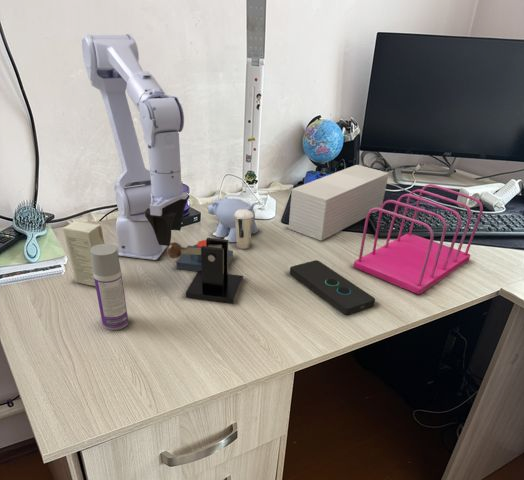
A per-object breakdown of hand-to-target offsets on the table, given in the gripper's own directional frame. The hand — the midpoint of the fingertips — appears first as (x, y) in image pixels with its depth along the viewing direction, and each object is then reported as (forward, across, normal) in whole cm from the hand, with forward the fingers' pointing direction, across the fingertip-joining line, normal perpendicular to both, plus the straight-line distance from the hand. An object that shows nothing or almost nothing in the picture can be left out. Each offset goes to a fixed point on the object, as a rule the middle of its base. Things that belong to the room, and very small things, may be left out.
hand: (170, 236), depth 99 cm
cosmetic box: (+10, -4, +16) cm, 20 cm away
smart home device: (+10, +4, -34) cm, 36 cm away
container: (+10, -19, +5) cm, 22 cm away
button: (+7, +9, -5) cm, 12 cm away
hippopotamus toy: (+10, +28, -7) cm, 31 cm away
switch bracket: (+10, -2, -10) cm, 14 cm away
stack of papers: (+10, +45, -34) cm, 57 cm away
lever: (+3, -2, -6) cm, 7 cm away
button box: (+10, +9, -5) cm, 14 cm away
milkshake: (+10, +20, -12) cm, 26 cm away
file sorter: (+10, +20, -53) cm, 58 cm away
